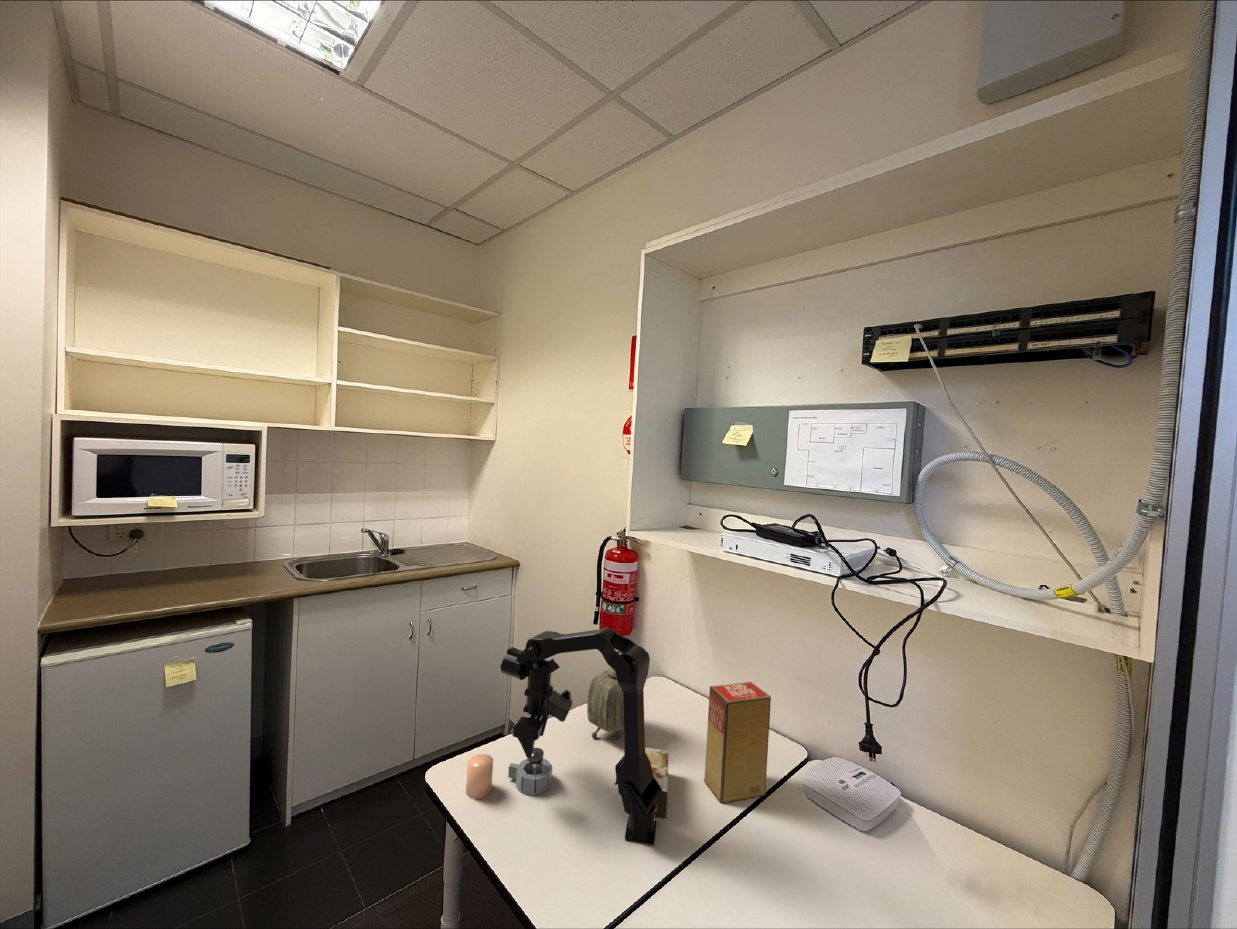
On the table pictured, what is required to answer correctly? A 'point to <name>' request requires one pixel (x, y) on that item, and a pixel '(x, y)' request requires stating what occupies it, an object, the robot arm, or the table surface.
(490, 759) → the peach rounded cylinder
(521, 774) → the grey octagonal base
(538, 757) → the plunger
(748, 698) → the food packaging
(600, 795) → the table surface
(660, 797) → the coffee box
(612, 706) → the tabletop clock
